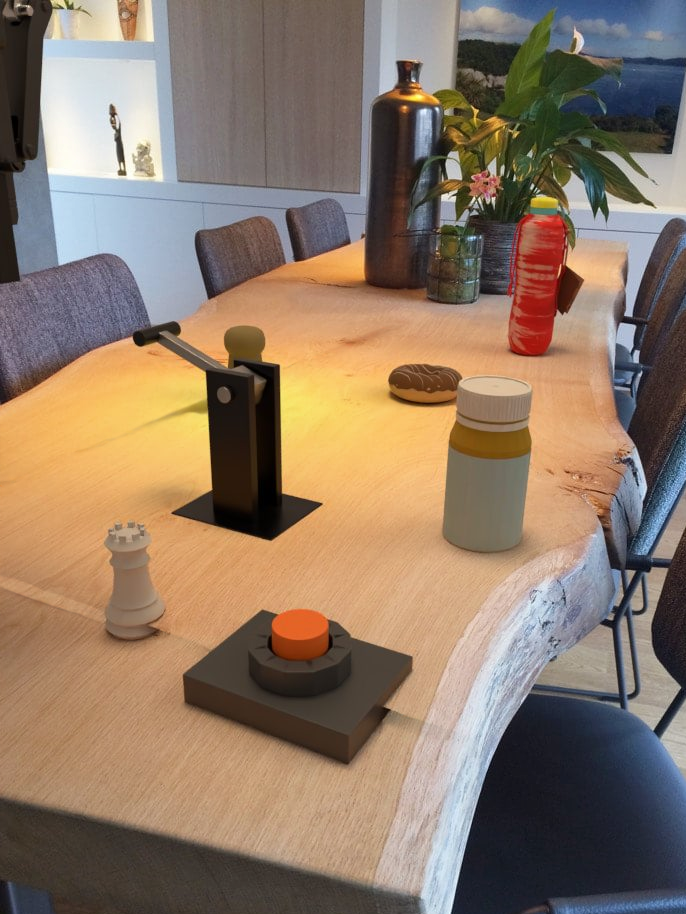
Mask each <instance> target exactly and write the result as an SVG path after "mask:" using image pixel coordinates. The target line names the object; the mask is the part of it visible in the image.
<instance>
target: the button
mask: <svg viewBox="0 0 686 914" xmlns="http://www.w3.org/2000/svg"><path fill="white" fill-rule="evenodd" d="M278 614H279V615H278V616H276V617H275V618H274V620H273V622H272V650H273V652H274V654H275V655H276V656H277V657H280V658H282V659H285V660H288V661H309V660H312V659H315V658H318V657H321V656H323V655H324V654H325V653H326V652H327V650H328V641H329V623H328V620H327V619H328V618H327V617H326V616H325V615H324V614H323V613H321V612H319V611H316V610H313V609H309V608H307V609H306V608H296V609H289V610H285V611H283V612H281V613H278Z"/></svg>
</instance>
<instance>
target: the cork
mask: <svg viewBox="0 0 686 914" xmlns="http://www.w3.org/2000/svg"><path fill="white" fill-rule="evenodd" d="M223 345H224V348H225V351H226V352H227V353H228V357H227V358H228V360H227V368H229V369H230V370H231V369H233V368H234V366H233V360H234V359H237V358H245V359H250V360H256V361H262V362H263V356H262V353H263V351H264V350H265V349H266V348H265V347H266V336H265V333H264V332H263V330H262V328H259V327H257V326H253V325H247V324H245V325H235V326H231V327H229V328H228V329H226V331H225V332H224V336H223Z"/></svg>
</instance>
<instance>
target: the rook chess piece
mask: <svg viewBox="0 0 686 914" xmlns="http://www.w3.org/2000/svg"><path fill="white" fill-rule="evenodd" d="M107 533H108V535H107V536H106V538H105V540H103V541H104V542H103V545H104V547H105V548H106V549H107V550H108V552H110V553H111V557H110V559H109V561H108V562H109V565H110V566H111V567H112V571H113V582H112V592H111V594H110V596H109V598H108V602H107V603H106V605H105V607H104V611H103V614H104V616H105V621H104V626H105V630H106V631H108V632H109V633H111V634H112V635H113V636H114V637H115V638H119V639H123V640H132V641H133V640H134V641H135V640H140V639H145V638H148V637H150V636H151V637H152V636H153V635H155V634H157V633H158V632H159V631H160V630H161V629H159V628H157V627H154V626H152V625H149V624H151V623H153V622H155V621H156V620H158V619H159V618H160V617H161V616H162V615H163V614H164V612H165V610H166V605H165V602H164V600H163V597H162V596H161V595H159V593H158V590H157V589H156V588H154V586H153V582H152V578H151V574H150V570H149V569H150V567H149V563H150V561H151V556H150V554H149V553H148V552H147V549H148V548H149V546H150V544H151V542H152V540H153V537H152V535H151V534H150V533H149V532H148V531H147V528H146V526H145V524H144V523H143V522H141V521H140V522H138V523H137V524H136V521H135V520H127V526H123V523H122V521H119V522H116V523H114V526H109V527H108V529H107Z"/></svg>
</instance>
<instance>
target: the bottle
mask: <svg viewBox="0 0 686 914" xmlns="http://www.w3.org/2000/svg"><path fill="white" fill-rule="evenodd" d="M533 392H534V391H533V386H532V385H531V384H530V382H528V381H525V380H523V379H519V378H516V377H511V376H504V375H496V374H495V375H494V374H481V375H472V376H466V377H463V378H462V380H460V381H459V384H458V389H457V396H456V405H455V406H456V410H455V421H454V423H453V426H452V428H451V430H450V433H449V435H448V436H449V437H448V447H447V460H446V461H447V462H446V463H447V464H446V474H445V490H444V500H443V501H444V503H443V515H442V516H443V517H442V529H441V531H442V536H443V538H444V539H445V540H446V542H448V543H450V544H451V545H453V546H455V547H457V548H459V549H461V550H465V551H468V552H472V553H473V552H474V553H480V554H481V553H482V554H493V553H496V554H497V553H502V552H503V553H504V552H506V551H510V550H512V549H514V548H516V547H517V546H518V545H519V544H520V543H521V541H522V536H523V526H524V516H525V509H526V500H527V493H528V492H527V491H528V483H529V482H528V481H529V473H530V466H531V458H532V457H531V455H532V446H533V445H532V444H533V442H532V440H533V439H532V436H531V432H530V427H529V423H530V417H531V416H530V414H531V411H532V410H531V409H532V401H533V394H534V393H533Z"/></svg>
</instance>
